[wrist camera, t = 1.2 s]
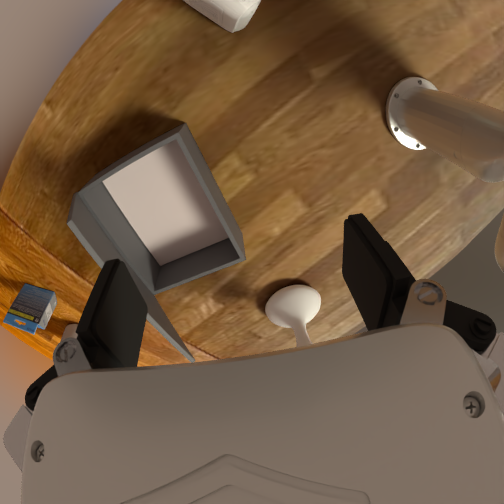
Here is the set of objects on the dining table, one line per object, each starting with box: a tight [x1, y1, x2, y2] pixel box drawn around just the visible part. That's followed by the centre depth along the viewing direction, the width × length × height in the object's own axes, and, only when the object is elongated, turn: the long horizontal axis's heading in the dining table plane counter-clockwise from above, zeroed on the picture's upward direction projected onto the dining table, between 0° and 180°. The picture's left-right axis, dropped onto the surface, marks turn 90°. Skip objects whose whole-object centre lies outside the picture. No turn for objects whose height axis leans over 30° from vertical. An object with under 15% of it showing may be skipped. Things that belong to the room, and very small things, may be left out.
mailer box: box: [77, 123, 246, 295], centre depth 39 cm, size 16×20×7 cm
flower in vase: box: [265, 285, 321, 347], centre depth 46 cm, size 13×11×25 cm
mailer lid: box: [67, 192, 195, 363], centre depth 31 cm, size 17×20×1 cm
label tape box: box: [3, 283, 57, 335], centre depth 44 cm, size 9×4×12 cm, turn 72°
